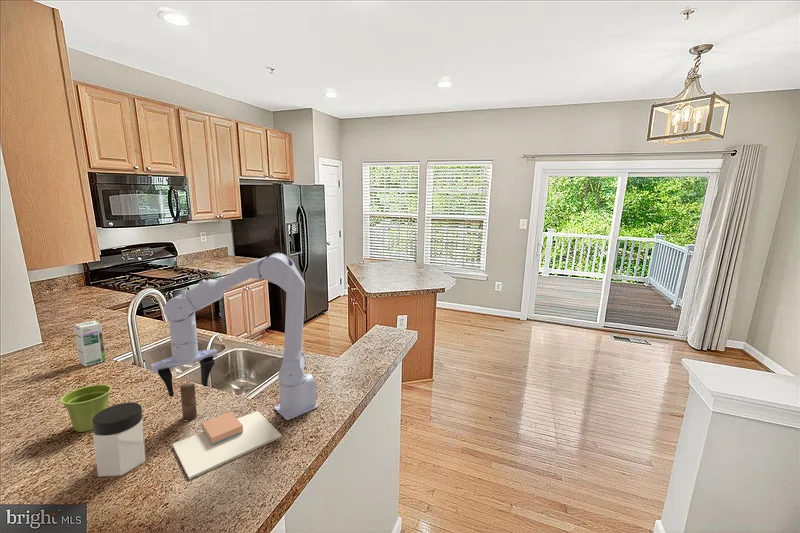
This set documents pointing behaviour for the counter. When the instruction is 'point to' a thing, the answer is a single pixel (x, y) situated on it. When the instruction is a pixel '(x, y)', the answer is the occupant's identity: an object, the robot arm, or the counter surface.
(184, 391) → the pestle
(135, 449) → the jar
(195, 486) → the counter surface
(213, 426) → the tile
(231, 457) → the board
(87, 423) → the plant pot
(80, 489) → the counter surface
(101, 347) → the syrup box
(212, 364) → the robot arm
